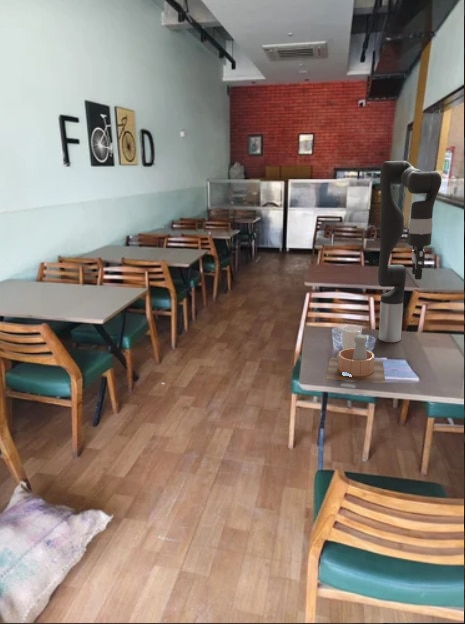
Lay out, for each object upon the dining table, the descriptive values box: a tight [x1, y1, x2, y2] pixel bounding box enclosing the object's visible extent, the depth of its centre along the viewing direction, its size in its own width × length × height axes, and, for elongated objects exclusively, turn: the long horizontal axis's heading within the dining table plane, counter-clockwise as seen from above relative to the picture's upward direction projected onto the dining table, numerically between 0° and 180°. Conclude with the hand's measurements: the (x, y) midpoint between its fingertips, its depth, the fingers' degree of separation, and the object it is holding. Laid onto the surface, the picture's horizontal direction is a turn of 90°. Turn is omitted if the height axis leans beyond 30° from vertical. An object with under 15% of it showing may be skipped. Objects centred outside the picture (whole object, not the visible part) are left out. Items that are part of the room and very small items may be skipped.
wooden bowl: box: [337, 348, 375, 377], centre depth 158 cm, size 13×13×6 cm
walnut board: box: [325, 357, 386, 385], centre depth 159 cm, size 20×20×1 cm
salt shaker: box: [352, 334, 368, 360], centre depth 154 cm, size 6×6×13 cm
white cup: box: [341, 325, 363, 350], centre depth 177 cm, size 8×8×10 cm
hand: (416, 276), depth 155 cm, fingers open, 8 cm apart
